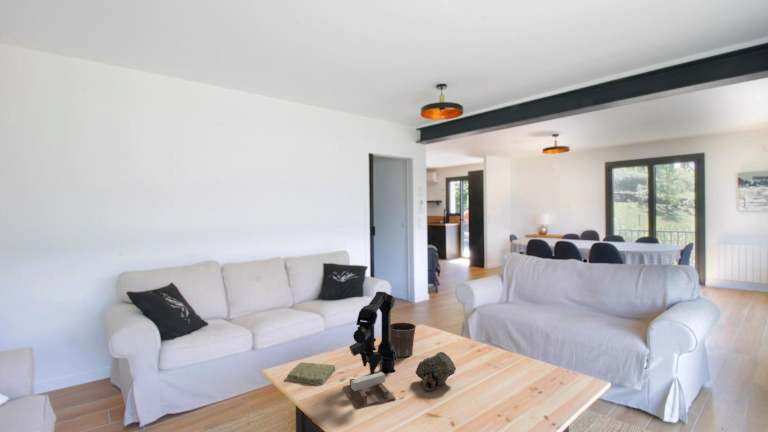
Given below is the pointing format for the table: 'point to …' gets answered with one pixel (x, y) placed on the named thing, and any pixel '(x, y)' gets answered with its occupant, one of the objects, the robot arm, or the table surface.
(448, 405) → the table surface
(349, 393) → the walnut rack
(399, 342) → the plant pot
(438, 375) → the rock
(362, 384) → the light gray rectangular bar
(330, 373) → the decorative tile
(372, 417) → the table surface
